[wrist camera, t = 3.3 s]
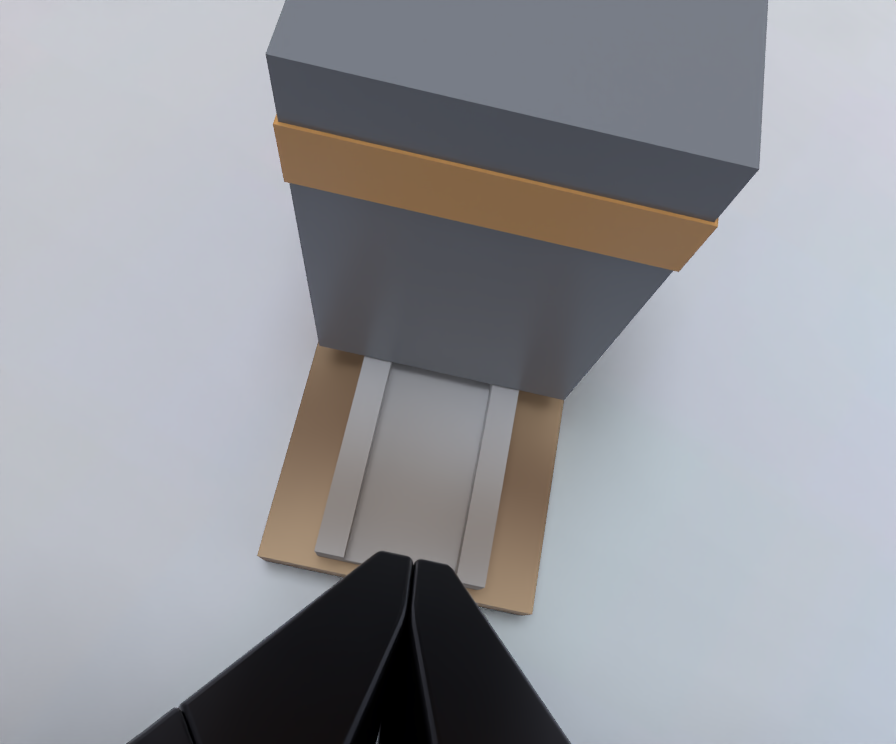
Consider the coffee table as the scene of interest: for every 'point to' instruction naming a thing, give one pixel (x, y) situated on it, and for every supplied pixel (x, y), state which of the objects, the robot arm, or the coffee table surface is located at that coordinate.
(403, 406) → the rail mount
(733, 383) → the coffee table surface
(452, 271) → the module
